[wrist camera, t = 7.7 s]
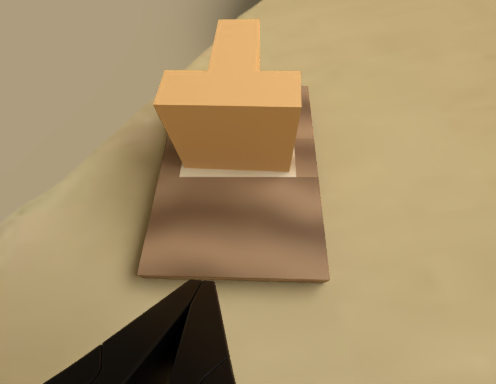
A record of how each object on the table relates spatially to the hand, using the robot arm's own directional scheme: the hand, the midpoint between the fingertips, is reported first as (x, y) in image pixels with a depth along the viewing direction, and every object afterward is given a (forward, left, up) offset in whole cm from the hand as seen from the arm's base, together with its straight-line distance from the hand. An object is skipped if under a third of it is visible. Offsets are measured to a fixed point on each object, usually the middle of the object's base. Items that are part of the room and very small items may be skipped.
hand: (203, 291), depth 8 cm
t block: (+16, -4, -11) cm, 20 cm away
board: (+12, -3, -13) cm, 18 cm away
